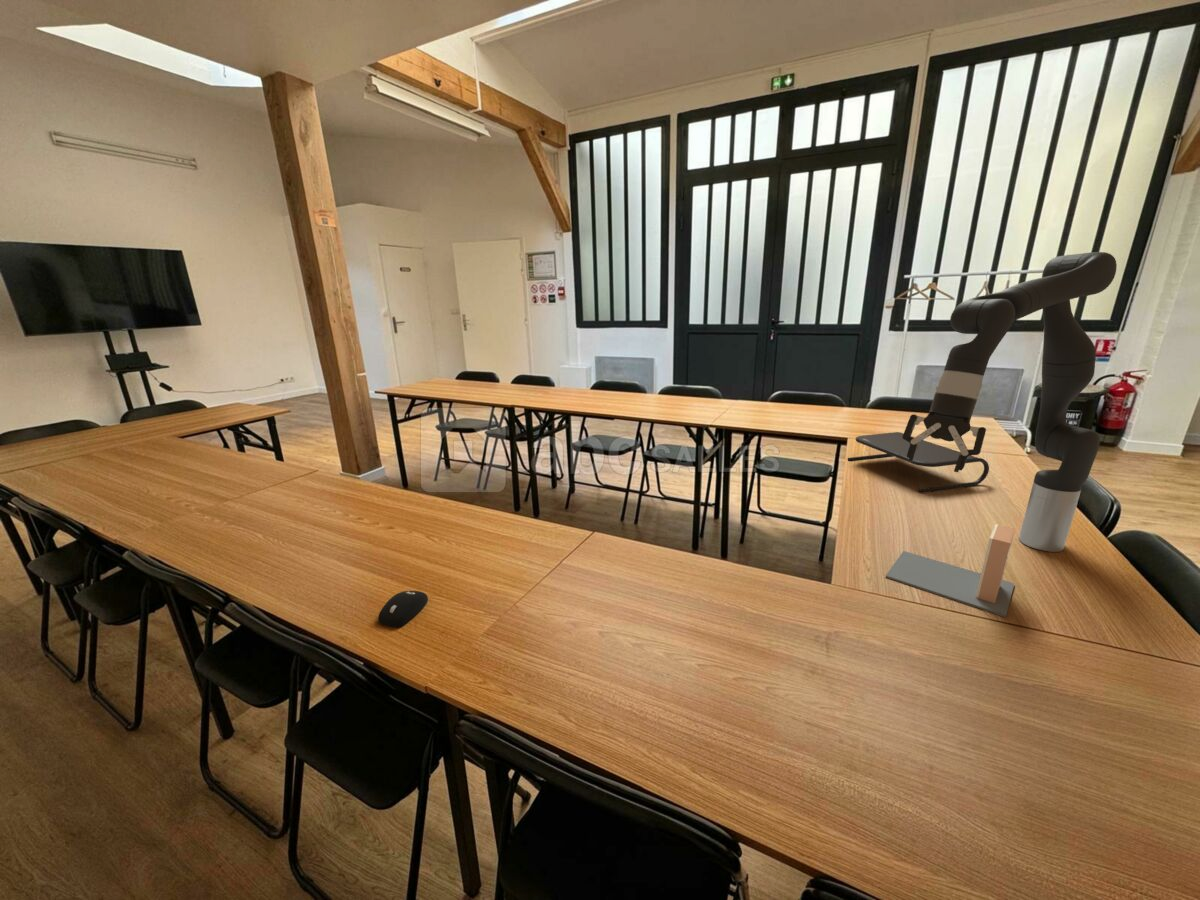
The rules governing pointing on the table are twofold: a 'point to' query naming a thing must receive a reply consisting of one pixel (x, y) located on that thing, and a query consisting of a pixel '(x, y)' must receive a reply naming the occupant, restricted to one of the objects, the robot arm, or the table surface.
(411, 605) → the computer mouse
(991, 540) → the peach rectangular block
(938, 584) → the mat
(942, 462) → the monitor stand
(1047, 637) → the table surface
